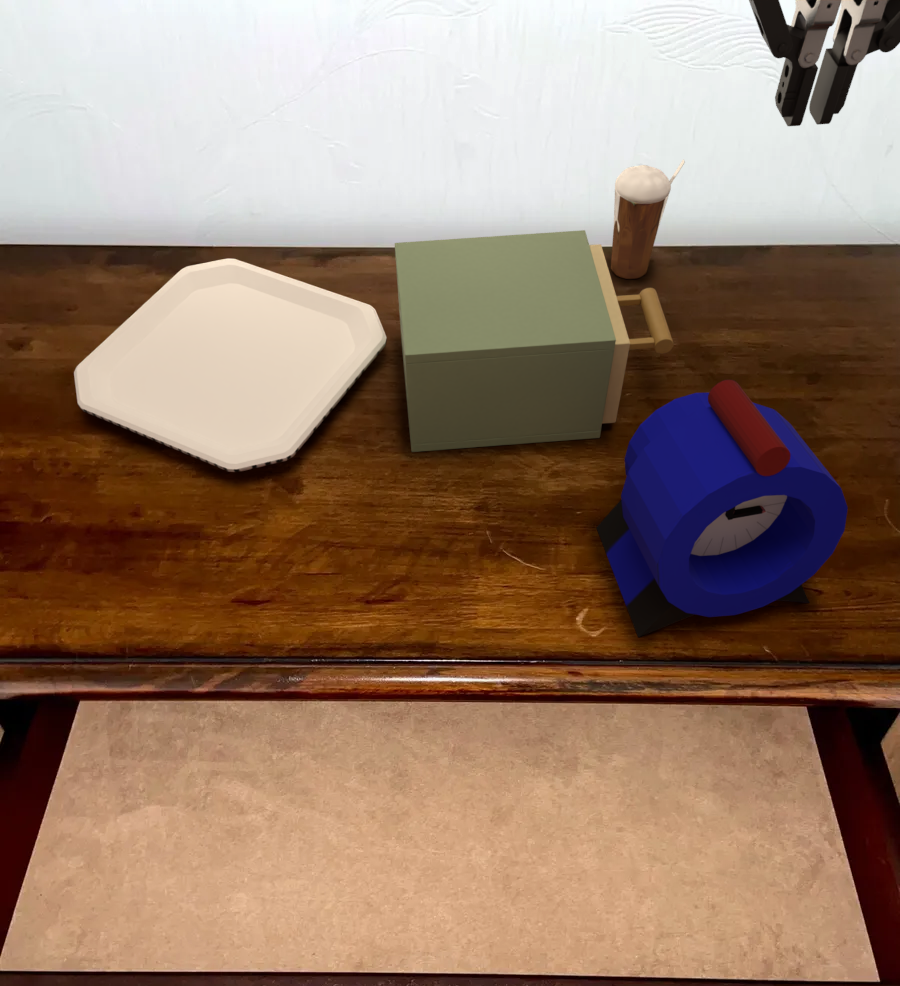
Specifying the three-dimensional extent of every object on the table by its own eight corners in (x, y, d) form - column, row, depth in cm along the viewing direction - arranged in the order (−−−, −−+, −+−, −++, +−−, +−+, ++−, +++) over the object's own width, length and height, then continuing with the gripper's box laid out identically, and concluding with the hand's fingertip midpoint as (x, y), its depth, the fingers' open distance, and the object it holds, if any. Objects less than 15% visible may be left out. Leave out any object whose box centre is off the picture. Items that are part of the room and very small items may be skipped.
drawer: (639, 321, 79) (655, 240, 73) (669, 419, 73) (689, 338, 66) (429, 336, 79) (426, 255, 72) (441, 436, 72) (438, 356, 66)
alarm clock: (641, 645, 62) (684, 496, 50) (587, 505, 69) (614, 344, 57) (814, 612, 64) (898, 459, 51) (745, 478, 71) (805, 315, 58)
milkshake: (668, 282, 84) (690, 176, 75) (608, 285, 83) (624, 180, 75) (657, 250, 86) (678, 145, 78) (599, 254, 86) (613, 148, 78)
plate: (55, 412, 75) (45, 391, 74) (208, 267, 86) (203, 245, 84) (271, 502, 70) (266, 482, 68) (407, 336, 80) (406, 314, 78)
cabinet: (573, 330, 80) (585, 229, 72) (599, 438, 73) (616, 339, 65) (401, 342, 80) (394, 242, 72) (411, 452, 72) (404, 354, 65)
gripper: (794, -202, 43) (712, 159, 57) (1084, -217, 44) (931, 144, 58) (750, -254, 47) (684, 94, 62) (1015, -267, 48) (888, 81, 62)
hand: (804, 117), depth 60 cm, fingers closed
